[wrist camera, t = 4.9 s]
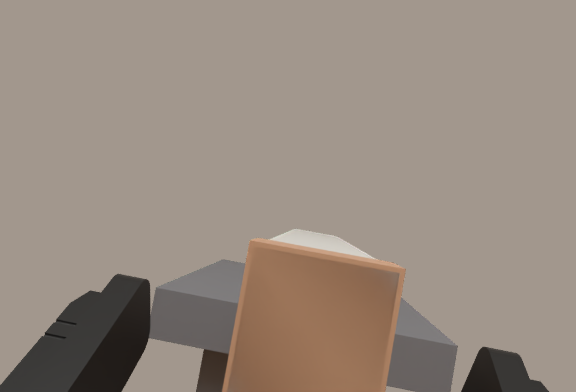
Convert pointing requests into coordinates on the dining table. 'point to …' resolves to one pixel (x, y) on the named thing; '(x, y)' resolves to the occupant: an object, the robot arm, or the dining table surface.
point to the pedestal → (221, 318)
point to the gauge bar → (313, 317)
